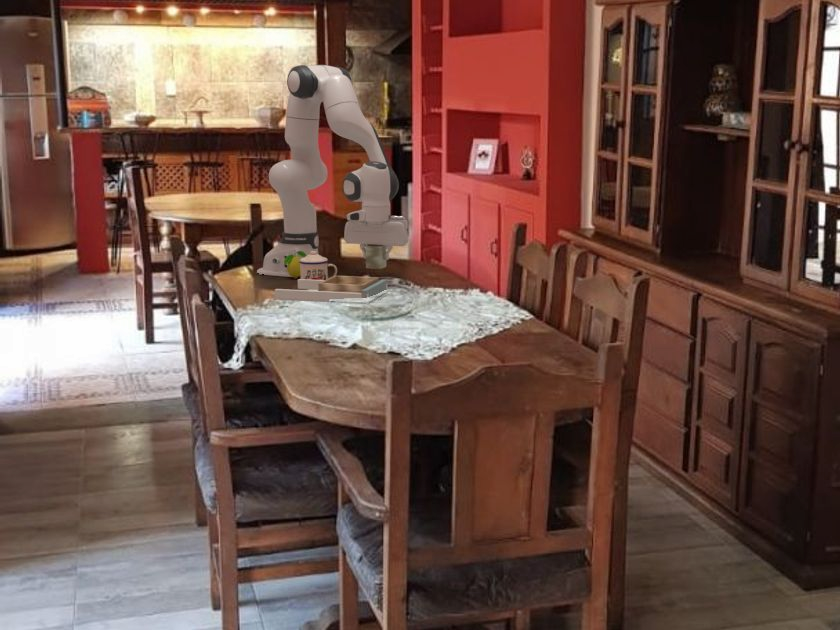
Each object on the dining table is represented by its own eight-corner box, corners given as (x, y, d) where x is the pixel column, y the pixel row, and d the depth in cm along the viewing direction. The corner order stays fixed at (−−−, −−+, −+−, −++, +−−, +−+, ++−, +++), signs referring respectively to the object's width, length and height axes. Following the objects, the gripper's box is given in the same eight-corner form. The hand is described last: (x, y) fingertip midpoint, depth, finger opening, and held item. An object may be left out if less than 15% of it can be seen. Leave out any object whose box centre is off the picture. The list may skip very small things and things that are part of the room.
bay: (274, 303, 319) (274, 286, 318) (299, 291, 337) (299, 275, 336) (367, 307, 311) (366, 290, 310) (387, 295, 329) (387, 279, 328)
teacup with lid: (302, 290, 338) (301, 254, 336) (297, 285, 347) (296, 250, 345) (340, 288, 342) (339, 252, 339) (334, 283, 350) (333, 248, 348)
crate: (318, 299, 318) (318, 283, 317) (335, 291, 331) (335, 275, 330) (363, 301, 314) (363, 285, 313) (379, 293, 327) (378, 277, 326)
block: (365, 268, 336) (365, 245, 334) (371, 265, 340) (371, 243, 339) (381, 269, 334) (381, 246, 333) (386, 266, 339) (386, 244, 337)
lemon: (308, 277, 363) (307, 247, 361) (303, 280, 357) (302, 250, 355) (288, 277, 364) (287, 247, 361) (284, 280, 358) (283, 250, 356)
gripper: (411, 215, 334) (410, 259, 337) (349, 212, 340) (349, 255, 343) (404, 217, 328) (404, 262, 331) (342, 214, 334) (342, 258, 337)
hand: (376, 258), depth 337 cm, fingers closed on block, 5 cm apart
